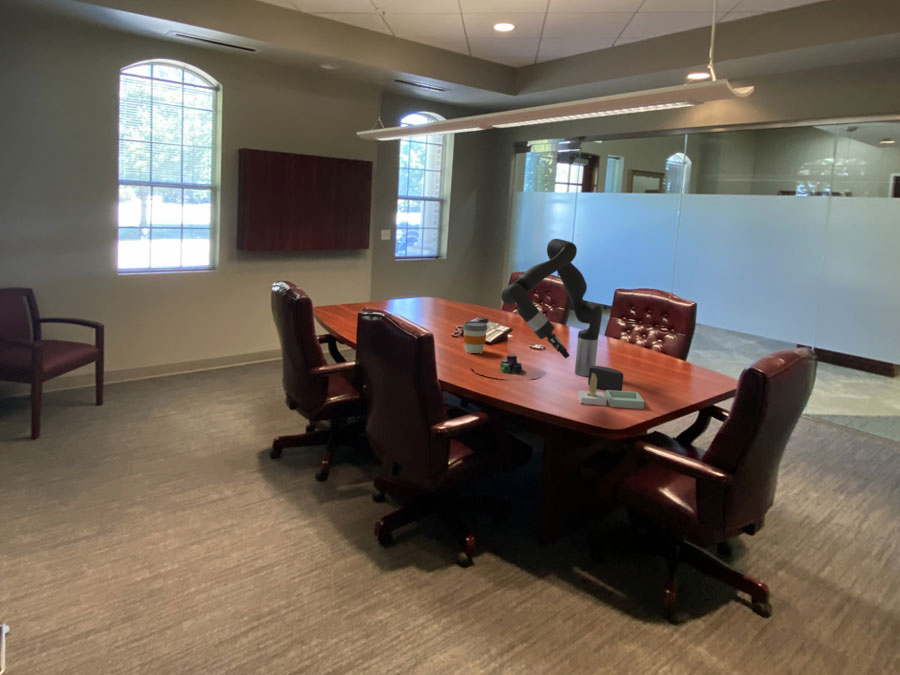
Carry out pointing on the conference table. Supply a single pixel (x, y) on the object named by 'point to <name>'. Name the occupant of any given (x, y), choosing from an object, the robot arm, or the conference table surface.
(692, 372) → the conference table surface
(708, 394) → the conference table surface
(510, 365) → the mineral sample
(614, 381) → the leaning round-cornered charcoal block
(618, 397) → the tray
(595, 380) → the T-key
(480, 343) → the reusable coffee cup
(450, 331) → the conference table surface
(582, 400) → the cover plate
